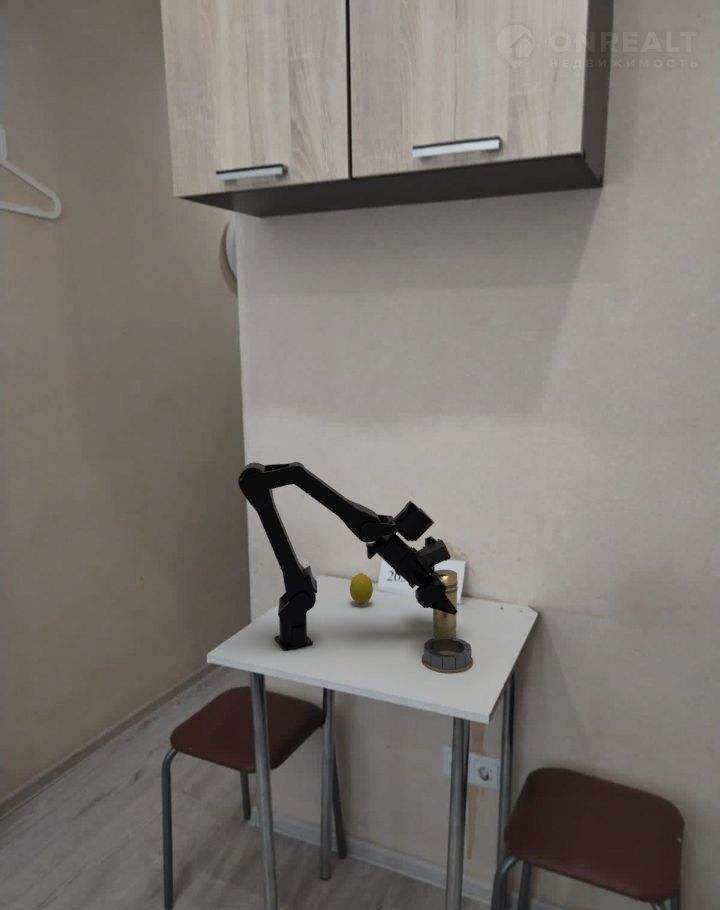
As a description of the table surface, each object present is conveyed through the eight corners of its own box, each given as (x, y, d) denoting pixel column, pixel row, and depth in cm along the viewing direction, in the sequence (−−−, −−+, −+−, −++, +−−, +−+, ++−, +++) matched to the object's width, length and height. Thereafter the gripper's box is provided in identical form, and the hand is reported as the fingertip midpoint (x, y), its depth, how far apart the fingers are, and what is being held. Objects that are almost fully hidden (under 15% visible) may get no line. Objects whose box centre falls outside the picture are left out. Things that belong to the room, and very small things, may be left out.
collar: (415, 654, 134) (415, 642, 134) (453, 644, 138) (453, 633, 138) (440, 673, 126) (440, 661, 125) (480, 663, 130) (480, 651, 129)
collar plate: (412, 656, 134) (412, 653, 134) (453, 645, 139) (453, 643, 139) (439, 677, 125) (439, 675, 125) (483, 666, 130) (483, 663, 130)
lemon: (359, 598, 165) (359, 567, 164) (377, 603, 162) (377, 572, 160) (345, 605, 161) (344, 573, 160) (363, 611, 157) (362, 578, 156)
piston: (427, 633, 145) (428, 571, 142) (447, 629, 147) (448, 568, 145) (440, 643, 140) (441, 579, 138) (461, 638, 142) (462, 575, 140)
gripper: (435, 542, 130) (489, 594, 133) (420, 518, 149) (467, 564, 151) (395, 582, 131) (450, 633, 133) (384, 553, 149) (433, 598, 152)
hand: (451, 604), depth 142 cm, fingers open, 9 cm apart
